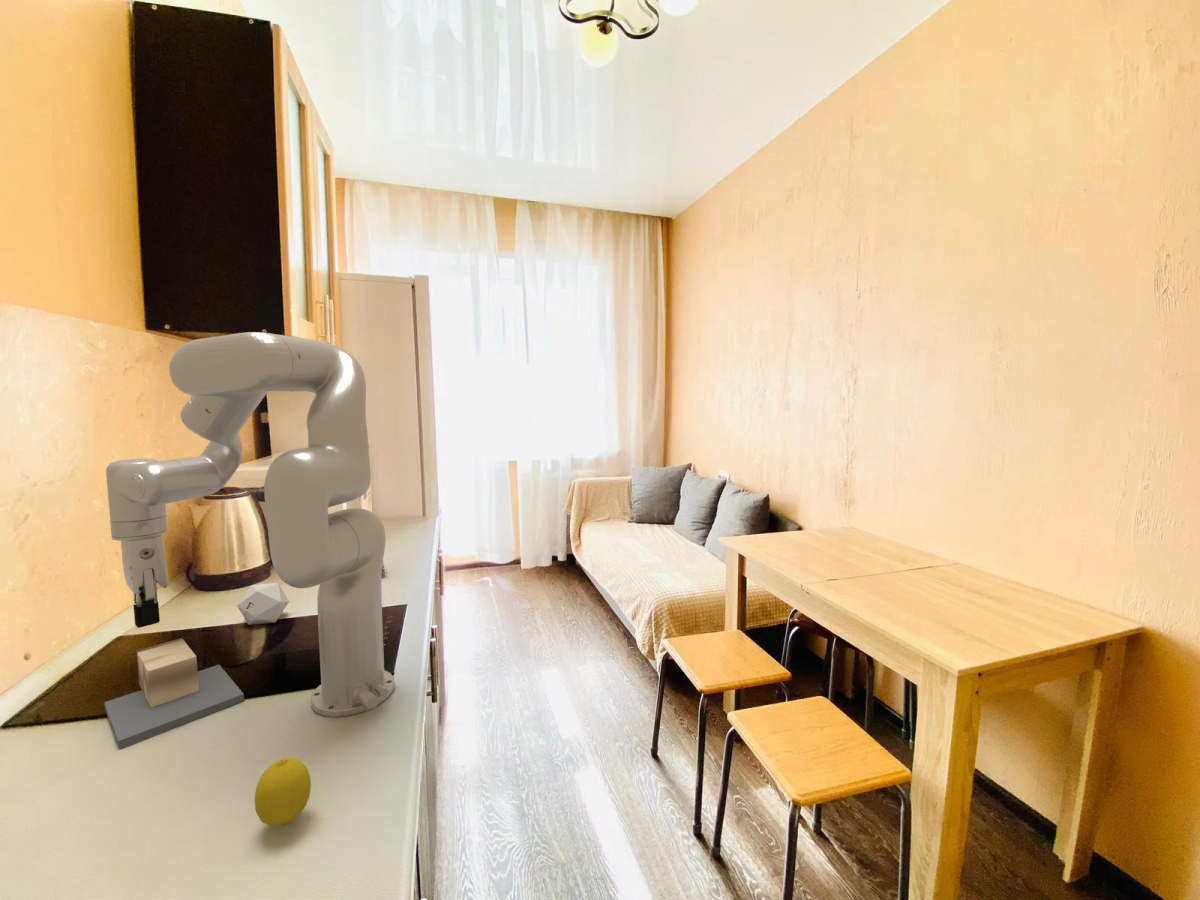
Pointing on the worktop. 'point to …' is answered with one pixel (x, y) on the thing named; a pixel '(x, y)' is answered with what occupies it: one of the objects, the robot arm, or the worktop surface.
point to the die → (263, 603)
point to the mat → (170, 708)
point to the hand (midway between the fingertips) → (147, 623)
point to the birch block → (167, 671)
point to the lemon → (282, 792)
